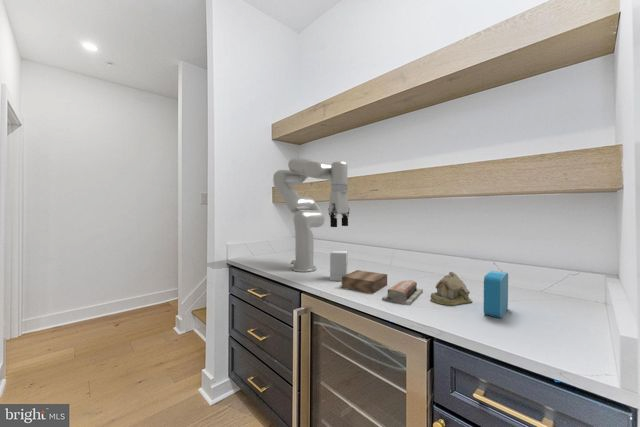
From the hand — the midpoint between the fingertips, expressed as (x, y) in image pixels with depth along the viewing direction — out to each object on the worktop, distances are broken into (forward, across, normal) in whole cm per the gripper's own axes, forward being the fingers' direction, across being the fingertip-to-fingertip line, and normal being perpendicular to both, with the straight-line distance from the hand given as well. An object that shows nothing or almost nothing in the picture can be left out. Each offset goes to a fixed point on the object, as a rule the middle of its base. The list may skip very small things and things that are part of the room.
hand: (339, 226), depth 125 cm
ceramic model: (+25, +2, +47) cm, 53 cm away
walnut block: (+25, +4, +14) cm, 29 cm away
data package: (+25, +6, +60) cm, 66 cm away
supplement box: (+24, 0, 0) cm, 24 cm away
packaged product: (+25, +7, +32) cm, 41 cm away
